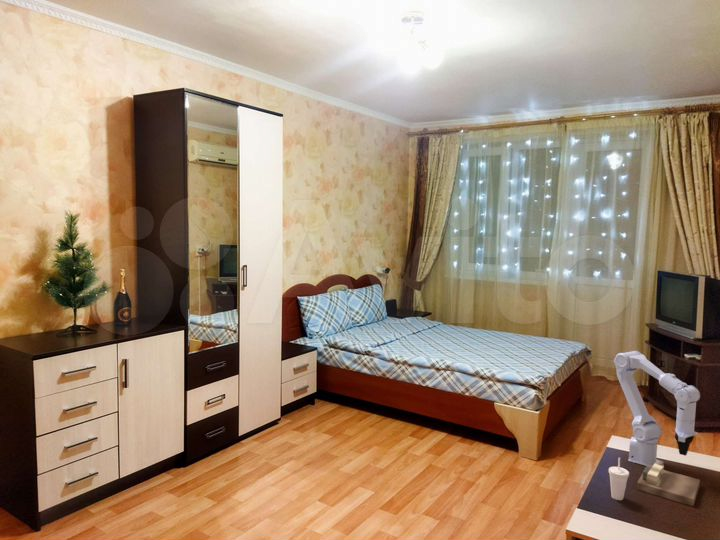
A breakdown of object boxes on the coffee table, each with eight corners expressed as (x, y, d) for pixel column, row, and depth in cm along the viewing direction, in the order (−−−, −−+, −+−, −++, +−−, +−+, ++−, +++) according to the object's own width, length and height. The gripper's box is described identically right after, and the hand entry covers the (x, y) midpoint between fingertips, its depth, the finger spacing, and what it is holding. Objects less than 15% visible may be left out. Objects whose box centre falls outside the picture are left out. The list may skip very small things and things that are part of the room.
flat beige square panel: (636, 489, 183) (637, 474, 183) (646, 471, 196) (647, 457, 196) (693, 506, 172) (694, 490, 172) (699, 486, 185) (700, 471, 185)
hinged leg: (655, 468, 193) (656, 459, 192) (664, 471, 191) (665, 461, 190) (646, 482, 183) (647, 471, 182) (656, 485, 181) (656, 474, 181)
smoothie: (626, 494, 180) (628, 456, 178) (629, 503, 174) (631, 464, 172) (605, 491, 182) (608, 453, 180) (608, 500, 176) (610, 461, 174)
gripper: (695, 427, 181) (693, 464, 182) (701, 415, 192) (698, 450, 193) (672, 422, 185) (670, 458, 187) (679, 411, 196) (676, 445, 198)
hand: (683, 454), depth 190 cm, fingers closed
